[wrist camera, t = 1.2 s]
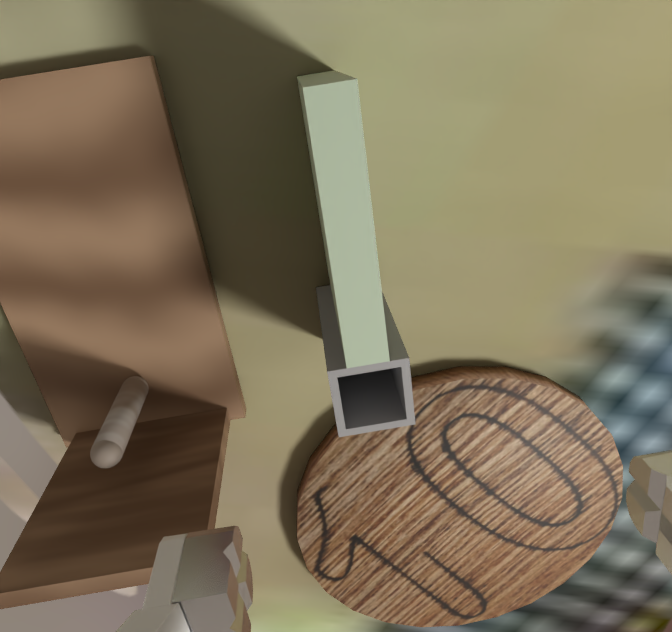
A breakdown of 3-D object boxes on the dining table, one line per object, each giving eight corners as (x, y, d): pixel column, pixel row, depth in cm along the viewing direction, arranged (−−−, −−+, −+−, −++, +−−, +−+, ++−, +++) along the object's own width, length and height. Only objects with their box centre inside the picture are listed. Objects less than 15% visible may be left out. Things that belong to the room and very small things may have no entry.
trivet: (451, 642, 51) (457, 662, 49) (229, 527, 43) (227, 547, 41) (671, 473, 44) (687, 490, 42) (458, 295, 36) (467, 307, 34)
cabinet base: (-83, 93, 28) (-350, 123, 16) (153, 55, 28) (59, 58, 16) (71, 437, 37) (-25, 613, 26) (246, 408, 38) (229, 569, 26)
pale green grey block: (279, 79, 29) (278, 91, 20) (351, 67, 29) (381, 75, 20) (325, 340, 36) (338, 437, 27) (382, 330, 36) (415, 424, 27)
